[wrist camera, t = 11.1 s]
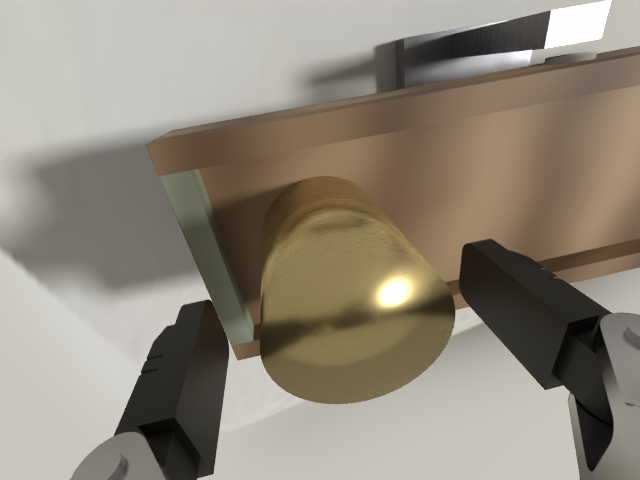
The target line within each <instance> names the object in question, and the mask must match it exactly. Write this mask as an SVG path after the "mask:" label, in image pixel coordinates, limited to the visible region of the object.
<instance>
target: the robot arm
mask: <svg viewBox="0 0 640 480" xmlns="http://www.w3.org/2000/svg"><path fill="white" fill-rule="evenodd" d="M459 289H460V292H461V295H462V297H463V299H464V300H465V301H466V303H467V304H468V305H469V306H470V307H471V308H472V309H473V310H474V311H475V313H476V314H477V315H478V316H479V317H480V318H481V319H482V320H483V321H484V323H485V324H486V325H487V326H488V327H489V328H490V329H491V330H492V331H493V333H494V334H495V335H496V336H497V337H498V338H499V339H500V340H501V342H502V343H503V344H504V345H505V346H506V347H507V348H508V349H509V350H510V351H511V353H512V354H513V355H514V356H515V357H516V358H517V359H518V360H519V362H520V363H521V364H522V365H523V366H524V367H525V368H526V369H527V370H528V372H529V373H530V374H531V375H532V376H533V377H534V378H535V379H536V380H537V382H538V383H539V384H540V385H541V386H542V387H543V388H544V389H545V390H547V389H551V388H554V387H559V386H562V385H564V386H565V387H566V388H567V389H568V390H569V391H570V394H569V397H568V405H569V410H570V417H571V424H572V430H573V436H574V443H575V449H576V455H577V461H578V468H579V474H580V480H640V315H638V314H632V313H611V312H610V311H608V310H606V309H605V308H604V307H602V306H601V305H599V304H598V303H596V302H595V301H593V300H592V299H590V298H589V297H587V296H586V295H585V294H583V293H582V292H580V291H579V290H577V289H576V288H574V287H573V286H571V285H570V284H568V283H567V282H565V281H564V280H562V279H558V276H556V275H555V274H553V273H552V272H551V271H549V270H545V267H543V266H542V265H540V264H539V263H537V262H536V261H534V260H533V259H531V258H530V257H527V256H525V255H522V254H519V253H517V252H514V251H512V250H507V249H506V248H504V247H503V246H502V245H500V244H499V243H497V242H496V241H494V240H493V239H485V240H480V241H476V242H471V243H467V244H465V245H464V246H463V248H462V255H461V265H460V275H459ZM228 359H229V344H228V339H227V336H226V333H225V331H224V328H223V326H222V324H221V321H220V319H219V317H218V314H217V312H216V310H215V307H214V305H213V303H212V302H211V300H204V301H199V302H195V303H190V304H186V305H183V306H182V307H181V309H180V312H179V314H178V317H177V320H176V323H175V325H171V326H167V327H166V328H165V329H164V330H163V331H162V333H161V334H160V335H159V336H158V337H157V338H156V340H155V341H154V342H153V345H152V347H151V349H150V352H149V354H148V356H147V361H145V363H144V366H143V368H142V371H141V375H140V376H139V378H138V380H137V382H136V385H135V387H134V389H133V392H132V394H131V397H130V399H129V401H128V403H127V406H126V408H125V411H124V413H123V415H122V418H121V420H120V422H119V425H118V427H117V429H116V432H115V434H114V436H113V437H112V438H110V439H108V440H106V441H105V442H104V443H102V444H100V445H99V446H98V447H97V448H95V449H94V450H93V451H92V452H91V453H90V454H89V455H88V456H87V457H86V458H85V459H84V460H83V461H82V462H81V464H80V465H79V466H78V468H77V469H76V470H75V472H74V474H73V475H72V477H71V479H70V480H197V478H200V477H204V476H208V475H211V474H213V473H214V465H215V457H216V450H217V442H218V434H219V427H220V420H221V412H222V405H223V397H224V389H225V382H226V374H227V367H228Z"/></svg>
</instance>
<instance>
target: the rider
mask: <svg viewBox="0 0 640 480" xmlns="http://www.w3.org/2000/svg"><path fill="white" fill-rule="evenodd" d="M454 322H455V304H454V299H453V296H452V293H451V291H450V289H449V287H448V286H447V284H446V282H445V281H444V280H443V279H442V278H441V277H440V275H439V274H438V273H437V272H436V271H435V270H434V269H433V268H432V266H431V265H430V264H429V263H428V262H427V261H426V260H425V258H424V257H423V256H422V255H421V254H420V253H419V252H418V251H417V249H416V248H415V247H414V246H413V245H412V244H411V243H410V242H409V240H408V239H407V238H406V237H405V236H404V235H403V234H402V233H401V231H400V230H399V229H398V228H397V227H396V226H395V225H394V224H393V222H392V221H391V220H390V219H389V218H388V217H387V216H386V215H385V213H384V212H383V211H382V210H381V209H380V208H379V207H378V206H377V204H376V203H375V202H374V201H373V200H372V199H371V198H370V197H369V195H368V194H367V193H366V192H365V191H364V190H363V189H361V188H360V187H359V186H358V185H356V184H354V183H353V182H350V181H348V180H346V179H342V178H339V177H332V176H318V177H312V178H308V179H304V180H302V181H299V182H297V183H295V184H293V185H292V186H290V187H288V188H287V189H286V190H284V191H283V192H282V193H281V194H280V195H279V196H278V197H277V198H276V199H275V200H274V202H273V203H272V204H271V206H270V208H269V210H268V212H267V214H266V216H265V220H264V224H263V232H262V271H261V310H260V355H261V359H262V362H263V365H264V367H265V369H266V371H267V373H268V374H269V376H270V377H271V378H272V380H273V381H274V382H275V383H277V384H278V385H279V386H280V387H281V388H283V389H284V390H285V391H287V392H289V393H291V394H292V395H294V396H297V397H299V398H302V399H305V400H309V401H313V402H318V403H325V404H348V403H355V402H361V401H366V400H370V399H373V398H377V397H380V396H383V395H385V394H388V393H390V392H392V391H394V390H397V389H399V388H401V387H402V386H404V385H406V384H408V383H409V382H411V381H412V380H414V379H415V378H416V377H418V376H419V375H420V374H422V373H423V372H424V371H425V370H426V369H427V368H428V367H429V366H430V365H431V364H432V363H433V362H434V361H435V360H436V359H437V358H438V356H439V355H440V354H441V352H442V351H443V349H444V348H445V346H446V345H447V343H448V341H449V338H450V336H451V333H452V330H453V327H454Z"/></svg>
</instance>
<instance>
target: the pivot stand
mask: <svg viewBox="0 0 640 480" xmlns="http://www.w3.org/2000/svg"><path fill="white" fill-rule="evenodd" d="M610 3H611V0H610V1H604V2H598V3H592V4H586V5H580V6H575V7H569V8H563V9H557V10H551V11H547V12H543V13H538V14H534V15H530V16H526V17H522V18H518V19H513V20H508V21H502V22H496V23H490V24H484V25H478V26H472V27H466V28H460V29H455V30H449V31H443V32H437V33H431V34H425V35H419V36H413V37H407V38H403V39H399V40H396V65H397V90H399V89H404V88H410V87H415V86H421V85H426V84H432V83H438V82H443V81H449V80H454V79H460V78H465V77H471V76H476V75H482V74H487V73H493V72H498V71H504V70H510V69H515V68H521V67H526V66H529V65H530V59H531V53H532V50H536V49H545V48H551V47H556V46H562V45H568V44H573V43H579V42H585V41H590V40H596V39H601V37H602V33H603V30H604V26H605V22H606V18H607V14H608V10H609V7H610Z"/></svg>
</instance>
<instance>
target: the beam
mask: <svg viewBox="0 0 640 480" xmlns="http://www.w3.org/2000/svg"><path fill="white" fill-rule="evenodd" d="M146 147H147V150H148V152H149V154H150V157H151V159H152V161H153V164H154V166H155V168H156V171H157V173H158V175H159V178H160V180H161V182H162V185H163V187H164V189H165V192H166V194H167V196H168V199H169V201H170V203H171V206H172V208H173V210H174V213H175V215H176V218H177V220H178V222H179V225H180V227H181V229H182V232H183V234H184V236H185V239H186V241H187V243H188V246H189V248H190V250H191V253H192V255H193V257H194V260H195V262H196V264H197V267H198V269H199V271H200V274H201V276H202V278H203V281H204V283H205V285H206V288H207V290H208V292H209V295H210V297H211V299H212V302H213V304H214V306H215V309H216V311H217V313H218V316H219V318H220V321H221V323H222V325H223V328H224V330H225V332H226V335H227V337H228V339H229V342H230V344H231V346H232V349H233V351H234V353H235V356H236V358H237V360H242V359H246V358H250V357H255V356H259V355H260V310H261V271H262V232H263V224H264V220H265V216H266V214H267V212H268V210H269V208H270V206H271V204H272V203H273V202H274V200H275V199H276V198H277V197H278V196H279V195H280V194H281V193H282V192H283V191H284V190H286V189H287V188H288V187H290V186H292V185H293V184H295V183H297V182H299V181H302V180H304V179H308V178H312V177H318V176H332V177H339V178H342V179H346V180H348V181H350V182H353V183H354V184H356V185H358V186H359V187H360V188H361V189H363V190H364V191H365V192H366V193H367V194H368V195H369V197H370V198H371V199H372V200H373V201H374V202H375V203H376V204H377V206H378V207H379V208H380V209H381V210H382V211H383V212H384V213H385V215H386V216H387V217H388V218H389V219H390V220H391V221H392V222H393V224H394V225H395V226H396V227H397V228H398V229H399V230H400V231H401V233H402V234H403V235H404V236H405V237H406V238H407V239H408V240H409V242H410V243H411V244H412V245H413V246H414V247H415V248H416V249H417V251H418V252H419V253H420V254H421V255H422V256H423V257H424V258H425V260H426V261H427V262H428V263H429V264H430V265H431V266H432V268H433V269H434V270H435V271H436V272H437V273H438V274H439V275H440V277H441V278H442V279H443V280H444V281H445V282H446V284H447V286H448V287H449V289H450V291H451V293H452V296H453V299H454V304H455V310H458V309H462V308H466V307H470V306H469V305H468V304H467V303H466V301H465V300H464V299H463V297H462V295H461V292H460V289H459V275H460V265H461V255H462V248H463V246H464V245H465V244H467V243H471V242H476V241H480V240H485V239H493V240H494V241H496V242H497V243H499V244H500V245H502V246H503V247H504V248H506V249H507V250H512V251H514V252H517V253H519V254H522V255H525V256H527V257H530V258H531V259H533V260H534V261H536V262H537V263H539V264H540V265H542V266H543V267H545V270H549V271H551V272H552V273H553V274H555V275H556V276H558V279H562V280H564V281H565V282H567V283H568V284H570V283H574V282H578V281H583V280H587V279H591V278H596V277H600V276H604V275H609V274H613V273H617V272H621V271H625V270H630V269H634V268H638V267H640V46H637V47H631V48H626V49H620V50H615V51H609V52H604V53H598V54H597V52H585V53H576V54H568V55H561V56H555V57H550V58H546V59H545V63H543V64H537V65H532V66H526V67H521V68H515V69H510V70H504V71H498V72H493V73H487V74H482V75H476V76H471V77H465V78H460V79H454V80H449V81H443V82H438V83H432V84H426V85H421V86H415V87H410V88H404V89H399V90H393V91H388V92H382V93H377V94H371V95H366V96H360V97H355V98H349V99H343V100H338V101H332V102H327V103H321V104H316V105H310V106H305V107H299V108H294V109H288V110H283V111H277V112H272V113H266V114H260V115H255V116H249V117H244V118H238V119H233V120H227V121H222V122H216V123H211V124H205V125H200V126H194V127H189V128H183V129H177V130H172V131H170V132H169V133H167V134H165V135H163V136H161V137H159V138H158V139H156V140H154V141H152V142H150V143H149V144H147V145H146Z"/></svg>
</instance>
